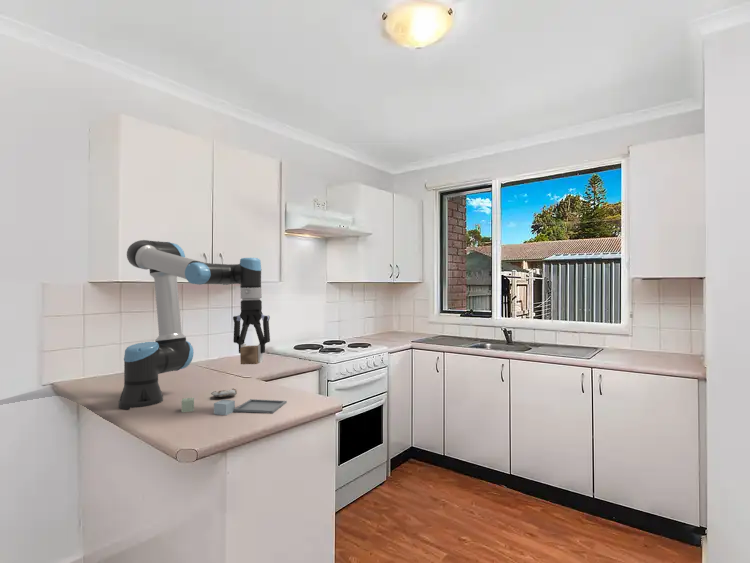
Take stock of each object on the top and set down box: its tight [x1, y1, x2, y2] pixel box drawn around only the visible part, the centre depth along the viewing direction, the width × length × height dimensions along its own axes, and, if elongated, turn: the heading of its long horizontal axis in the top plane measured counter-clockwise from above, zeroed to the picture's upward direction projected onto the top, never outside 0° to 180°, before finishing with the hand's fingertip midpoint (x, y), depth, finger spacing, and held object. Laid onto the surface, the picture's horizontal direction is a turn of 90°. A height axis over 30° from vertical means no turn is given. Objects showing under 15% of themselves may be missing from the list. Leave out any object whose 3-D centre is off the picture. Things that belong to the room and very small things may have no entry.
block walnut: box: [239, 345, 259, 365], centre depth 162 cm, size 6×6×6 cm
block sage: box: [181, 397, 195, 413], centre depth 159 cm, size 4×4×4 cm
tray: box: [233, 398, 287, 415], centre depth 162 cm, size 15×14×1 cm
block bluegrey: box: [213, 399, 236, 416], centre depth 156 cm, size 5×5×4 cm
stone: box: [210, 388, 238, 398], centre depth 177 cm, size 10×7×3 cm
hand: (252, 361), depth 162 cm, fingers closed on block walnut, 6 cm apart
